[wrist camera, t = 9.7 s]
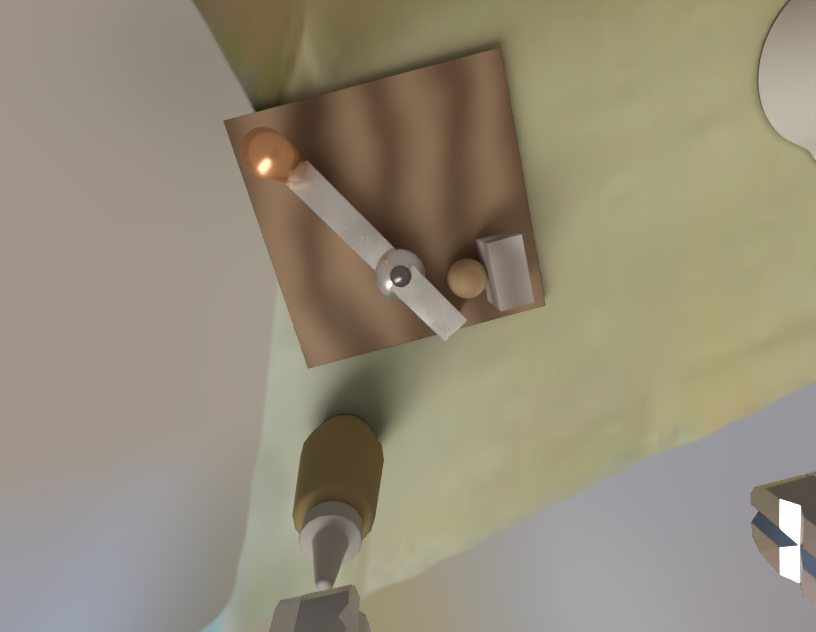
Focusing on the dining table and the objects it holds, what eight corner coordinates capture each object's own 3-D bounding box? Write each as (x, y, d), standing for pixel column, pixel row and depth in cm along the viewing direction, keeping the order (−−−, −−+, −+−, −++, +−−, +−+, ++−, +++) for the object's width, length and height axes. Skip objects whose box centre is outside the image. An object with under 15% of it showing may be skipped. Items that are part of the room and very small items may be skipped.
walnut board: (496, 52, 37) (516, 26, 31) (541, 302, 43) (564, 317, 37) (228, 123, 37) (202, 109, 31) (310, 364, 43) (300, 387, 37)
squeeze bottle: (290, 436, 45) (233, 583, 27) (347, 388, 44) (327, 509, 26) (342, 485, 46) (321, 652, 29) (399, 440, 46) (411, 585, 28)
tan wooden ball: (477, 251, 40) (487, 256, 36) (485, 288, 41) (495, 296, 37) (440, 261, 40) (446, 267, 36) (449, 298, 41) (455, 306, 37)
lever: (295, 131, 36) (268, 108, 27) (467, 306, 41) (491, 334, 32) (260, 170, 37) (223, 159, 28) (434, 338, 41) (449, 373, 33)
